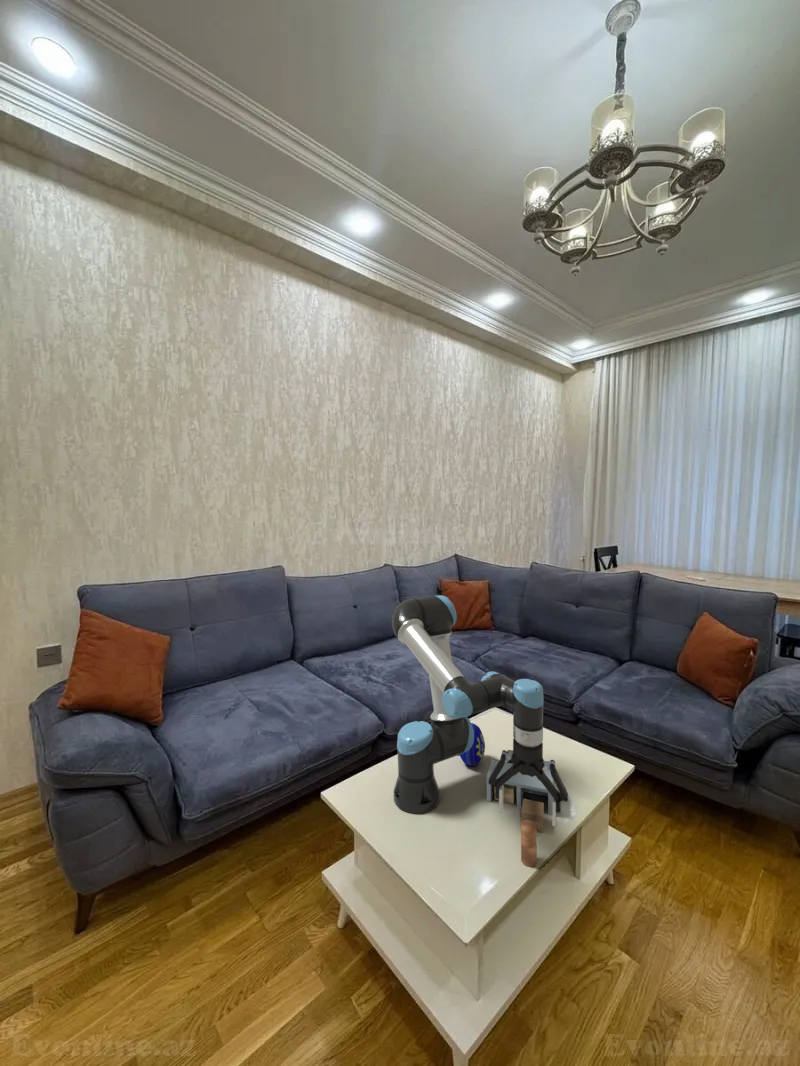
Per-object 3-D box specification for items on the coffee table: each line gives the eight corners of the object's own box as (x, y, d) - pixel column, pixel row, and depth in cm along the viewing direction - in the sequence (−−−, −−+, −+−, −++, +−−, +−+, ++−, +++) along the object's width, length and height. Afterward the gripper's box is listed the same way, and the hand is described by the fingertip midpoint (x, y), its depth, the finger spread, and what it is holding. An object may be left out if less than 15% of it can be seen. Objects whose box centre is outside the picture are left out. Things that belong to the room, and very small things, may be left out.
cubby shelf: (486, 801, 139) (486, 777, 138) (492, 782, 148) (491, 759, 147) (552, 815, 131) (552, 790, 131) (553, 795, 141) (553, 771, 140)
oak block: (494, 799, 139) (494, 785, 139) (498, 788, 145) (497, 774, 145) (513, 804, 137) (513, 789, 137) (516, 792, 142) (516, 778, 142)
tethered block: (516, 863, 114) (516, 827, 114) (523, 814, 132) (523, 783, 132) (540, 869, 112) (539, 833, 111) (543, 818, 130) (543, 787, 130)
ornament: (477, 774, 152) (477, 733, 152) (454, 766, 157) (453, 727, 156) (488, 758, 162) (488, 720, 161) (466, 751, 167) (465, 714, 166)
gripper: (477, 738, 114) (477, 813, 116) (579, 757, 105) (577, 839, 107) (483, 724, 121) (483, 795, 123) (578, 741, 112) (577, 818, 114)
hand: (527, 815), depth 115 cm, fingers open, 13 cm apart
